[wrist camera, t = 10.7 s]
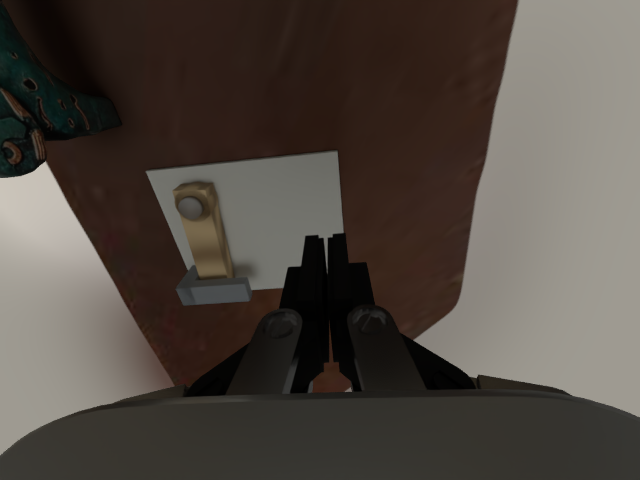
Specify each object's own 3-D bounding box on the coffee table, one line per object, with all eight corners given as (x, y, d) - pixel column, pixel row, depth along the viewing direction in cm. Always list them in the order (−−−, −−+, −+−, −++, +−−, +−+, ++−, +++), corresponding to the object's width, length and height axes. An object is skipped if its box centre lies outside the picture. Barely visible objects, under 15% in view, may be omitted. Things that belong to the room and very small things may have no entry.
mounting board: (149, 169, 36) (118, 186, 31) (337, 150, 34) (339, 163, 29) (199, 290, 46) (182, 318, 41) (347, 280, 44) (349, 308, 39)
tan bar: (179, 182, 35) (165, 192, 32) (213, 181, 35) (203, 191, 32) (210, 288, 44) (202, 303, 41) (238, 287, 44) (232, 303, 41)
